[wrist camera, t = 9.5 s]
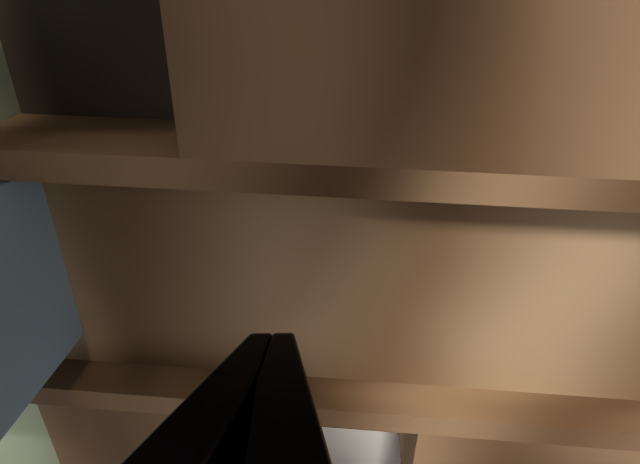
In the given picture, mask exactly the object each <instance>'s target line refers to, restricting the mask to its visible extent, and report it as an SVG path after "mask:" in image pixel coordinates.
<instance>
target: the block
mask: <svg viewBox="0 0 640 464" xmlns="http://www.w3.org/2000/svg"><path fill="white" fill-rule="evenodd" d="M83 334H84V332H83V328H82V325H81V321H80V318H79V314H78V310H77V307H76V303H75V299H74V296H73V292H72V289H71V285H70V281H69V278H68V274H67V271H66V267H65V263H64V260H63V256H62V253H61V249H60V245H59V242H58V238H57V235H56V231H55V227H54V224H53V220H52V217H51V213H50V209H49V206H48V202H47V199H46V195H45V191H44V188H43V184H42V182H23V181H3V180H0V441H1V439H2V438H3V437H4V436H5V434H6V433H7V432H8V430H9V429H10V428H11V427H12V425H13V424H14V423H15V421H16V420H17V419H18V418H19V416H20V415H21V414H22V412H23V411H24V410H25V409H26V407H27V406H28V405H29V403H30V402H31V401H32V400H33V398H34V397H35V396H36V395H37V393H38V392H39V391H40V389H41V388H42V387H43V386H44V384H45V383H46V382H47V380H48V379H49V378H50V377H51V375H52V374H53V373H54V371H55V370H56V369H57V368H58V366H59V365H60V364H61V362H62V361H63V360H64V359H65V357H66V356H67V355H68V353H69V352H70V351H71V350H72V348H73V347H74V346H75V344H76V343H77V342H78V341H79V339H80V338H81V337H82V335H83Z"/></svg>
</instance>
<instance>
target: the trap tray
mask: <svg viewBox="0 0 640 464" xmlns="http://www.w3.org/2000/svg"><path fill="white" fill-rule="evenodd" d="M0 180H3V181H23V182H42V184H43V188H44V191H45V195H46V199H47V202H48V206H49V209H50V213H51V217H52V220H53V224H54V227H55V231H56V235H57V238H58V242H59V245H60V249H61V253H62V256H63V260H64V263H65V267H66V271H67V274H68V278H69V281H70V285H71V289H72V292H73V296H74V299H75V303H76V307H77V310H78V314H79V318H80V321H81V325H82V328H83V332H84V334H83V335H82V337H81V338H80V339H79V341H78V342H77V343H76V344H75V346H74V347H73V348H72V350H71V351H70V352H69V353H68V355H67V356H66V357H65V359H64V360H63V361H62V362H61V364H60V365H59V366H58V368H57V369H56V370H55V371H54V373H53V374H52V375H51V377H50V378H49V379H48V380H47V382H46V383H45V384H44V386H43V387H42V388H41V389H40V391H39V392H38V393H37V395H36V396H35V397H34V398H33V400H32V401H31V402H30V403H29V405H28V406H27V407H26V409H25V410H24V411H23V412H22V414H21V415H20V416H19V418H18V419H17V420H16V421H15V423H14V424H13V425H12V427H11V428H10V429H9V430H8V432H7V433H6V434H5V436H4V437H3V438H2V439H1V441H0V464H121V463H122V462H123V461H124V460H125V459H126V458H127V457H128V456H129V455H130V454H131V453H132V452H133V451H134V450H135V449H136V448H137V447H138V446H139V445H140V444H141V443H142V442H143V441H144V440H145V439H146V438H147V437H148V436H149V435H150V434H151V433H152V432H153V431H154V430H155V429H156V428H157V427H158V426H159V425H160V424H161V423H162V422H163V421H164V420H165V419H166V418H167V417H168V416H169V415H170V414H171V413H172V412H173V411H174V410H175V409H176V408H177V407H178V406H179V405H180V404H181V403H182V402H183V401H184V400H185V399H186V398H187V397H188V396H189V395H190V394H191V393H192V392H193V391H194V390H195V389H196V388H197V387H198V386H199V385H200V384H201V383H202V382H203V381H204V380H205V379H206V378H207V377H208V376H209V375H210V374H211V373H212V372H213V371H214V370H215V369H216V368H217V367H218V366H219V365H220V364H221V363H222V362H223V361H224V360H225V359H226V358H227V357H228V356H229V355H230V354H231V353H232V352H233V351H234V350H235V349H236V348H237V347H238V346H239V345H240V344H241V343H242V342H243V341H244V340H245V339H246V338H247V337H248V336H249V335H250V334H252V333H270V334H272V335H273V334H275V333H293V334H294V335H295V338H296V341H297V345H298V348H299V352H300V355H301V359H302V362H303V366H304V369H305V372H306V376H307V379H308V383H309V386H310V390H311V393H312V397H313V400H314V403H315V407H316V410H317V414H318V417H319V421H320V424H321V427H333V428H346V429H359V430H371V431H384V432H397V433H399V441H400V453H401V464H640V0H0Z"/></svg>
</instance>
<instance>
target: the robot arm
mask: <svg viewBox="0 0 640 464" xmlns="http://www.w3.org/2000/svg"><path fill="white" fill-rule="evenodd" d="M121 464H332V462H331V459H330V455H329V452H328V448H327V445H326V441H325V438H324V435H323V431H322V428H321V424H320V421H319V417H318V414H317V410H316V407H315V403H314V400H313V397H312V393H311V390H310V386H309V383H308V379H307V376H306V372H305V369H304V366H303V362H302V359H301V355H300V352H299V348H298V345H297V341H296V338H295V335H294V334H293V333H275V334H273V335H272V334H270V333H252V334H250V335H249V336H248V337H247V338H246V339H245V340H244V341H243V342H242V343H241V344H240V345H239V346H238V347H237V348H236V349H235V350H234V351H233V352H232V353H231V354H230V355H229V356H228V357H227V358H226V359H225V360H224V361H223V362H222V363H221V364H220V365H219V366H218V367H217V368H216V369H215V370H214V371H213V372H212V373H211V374H210V375H209V376H208V377H207V378H206V379H205V380H204V381H203V382H202V383H201V384H200V385H199V386H198V387H197V388H196V389H195V390H194V391H193V392H192V393H191V394H190V395H189V396H188V397H187V398H186V399H185V400H184V401H183V402H182V403H181V404H180V405H179V406H178V407H177V408H176V409H175V410H174V411H173V412H172V413H171V414H170V415H169V416H168V417H167V418H166V419H165V420H164V421H163V422H162V423H161V424H160V425H159V426H158V427H157V428H156V429H155V430H154V431H153V432H152V433H151V434H150V435H149V436H148V437H147V438H146V439H145V440H144V441H143V442H142V443H141V444H140V445H139V446H138V447H137V448H136V449H135V450H134V451H133V452H132V453H131V454H130V455H129V456H128V457H127V458H126V459H125V460H124V461H123V462H122V463H121Z"/></svg>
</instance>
